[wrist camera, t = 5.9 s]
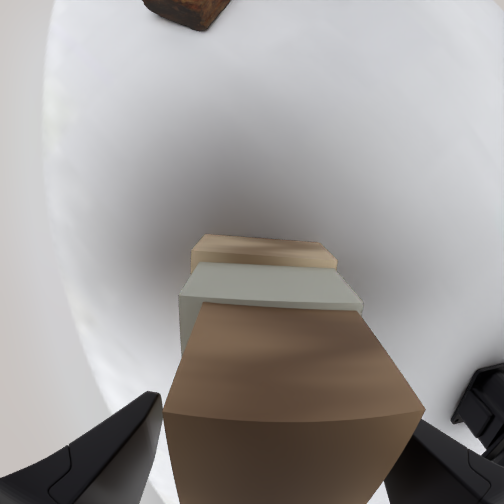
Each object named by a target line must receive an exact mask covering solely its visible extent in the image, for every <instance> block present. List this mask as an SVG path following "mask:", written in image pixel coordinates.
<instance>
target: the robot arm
mask: <svg viewBox="0 0 504 504" xmlns="http://www.w3.org/2000/svg"><path fill="white" fill-rule="evenodd" d="M162 410H163V407H162V399H161V395H160V394H159V393H157V392H151V391H147V392H145V393H143V394H142V395H140V396H139V397H138V398H136V399H135V400H133V401H132V402H131V403H129V404H128V405H126V406H125V407H123V408H122V409H121V410H119V411H118V412H116V413H115V414H113V415H112V416H111V417H109V418H107V419H106V420H104V421H103V422H102V423H100V424H99V425H97V426H96V427H94V428H93V429H91V430H90V431H88V432H87V433H85V434H84V435H82V436H81V437H79V438H78V439H76V440H75V441H73V442H71V443H70V444H69V446H68V445H66V446H65V447H63V448H62V449H60V450H59V451H57V452H55V453H54V454H52V455H50V456H49V457H47V458H45V459H43V460H41V461H39V462H37V463H35V464H33V465H30V466H28V467H26V468H24V469H21V470H19V471H17V472H14V473H12V474H9V475H7V476H5V477H2V478H0V504H139V503H140V500H141V497H142V494H143V491H144V488H145V485H146V482H147V479H148V476H149V474H150V471H151V468H152V465H153V462H154V458H155V454H156V449H157V444H158V439H159V435H160V430H161V425H162V420H163V414H162ZM451 422H452V424H457V423H461V422H465V424H466V425H467V427H468V428H469V429H470V431H471V432H472V434H473V435H474V436H475V438H478V439H479V440H480V442H481V443H482V444H483V446H484V447H485V449H486V451H485V452H484V453H483V454H482V455H481V456H480V455H479V454H477V453H475V452H474V451H472V450H470V449H467V447H465V446H464V445H462V444H460V443H459V442H457V441H456V440H454V439H452V438H451V437H449V436H448V435H446V434H444V433H443V432H441V431H440V430H438V429H437V428H435V427H434V426H432V425H430V424H429V423H427V422H426V421H424V420H423V419H421V420H420V422H419V423H418V425H417V427H416V429H415V431H414V433H413V434H412V436H411V438H410V440H409V441H408V443H407V445H406V446H405V448H404V450H403V451H402V453H401V455H400V456H399V458H398V460H397V461H396V463H395V464H394V466H393V467H392V469H391V470H390V472H389V473H388V475H387V476H386V478H385V479H384V484H385V487H386V491H387V494H388V498H389V501H390V504H504V364H501V365H496V366H492V367H488V368H483V369H479V370H477V371H476V373H475V374H474V376H473V378H472V381H471V383H470V385H469V387H468V389H467V391H466V393H465V395H464V397H463V399H462V401H461V403H460V405H459V406H458V408H457V410H456V412H455V414H454V416H453V417H452V419H451Z"/></svg>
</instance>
